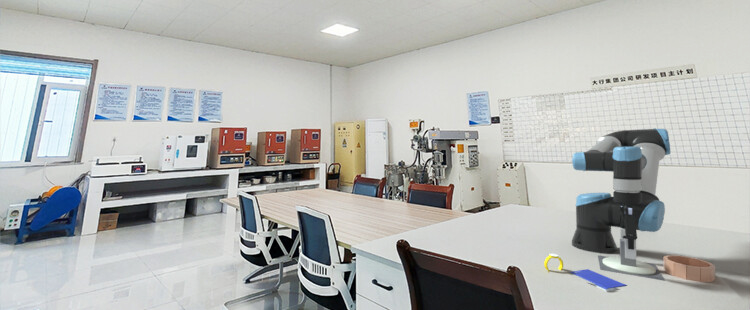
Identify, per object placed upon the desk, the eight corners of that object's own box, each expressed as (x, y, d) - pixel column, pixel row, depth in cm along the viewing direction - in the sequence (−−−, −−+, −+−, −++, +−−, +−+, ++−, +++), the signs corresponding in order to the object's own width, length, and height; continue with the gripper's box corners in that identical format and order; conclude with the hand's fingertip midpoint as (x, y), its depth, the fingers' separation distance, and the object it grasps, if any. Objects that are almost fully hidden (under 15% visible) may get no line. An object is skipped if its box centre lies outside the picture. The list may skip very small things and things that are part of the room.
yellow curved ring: (559, 270, 102) (559, 253, 102) (564, 274, 99) (565, 256, 99) (542, 270, 102) (543, 253, 102) (547, 273, 99) (548, 256, 99)
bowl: (668, 279, 93) (668, 263, 93) (660, 267, 102) (660, 253, 102) (720, 287, 87) (720, 270, 87) (707, 274, 96) (706, 259, 96)
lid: (603, 269, 100) (603, 242, 100) (601, 256, 112) (601, 233, 111) (660, 278, 92) (660, 250, 92) (651, 264, 103) (651, 238, 103)
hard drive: (569, 271, 98) (606, 288, 86) (588, 268, 100) (627, 284, 88) (569, 276, 98) (606, 293, 86) (588, 273, 100) (627, 289, 88)
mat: (600, 271, 100) (600, 269, 100) (597, 257, 113) (597, 255, 113) (665, 283, 91) (665, 280, 91) (654, 266, 104) (654, 263, 104)
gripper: (648, 197, 89) (649, 266, 89) (636, 187, 109) (636, 244, 110) (616, 195, 93) (617, 261, 94) (610, 186, 114) (610, 241, 114)
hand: (627, 252), depth 102 cm, fingers open, 13 cm apart
